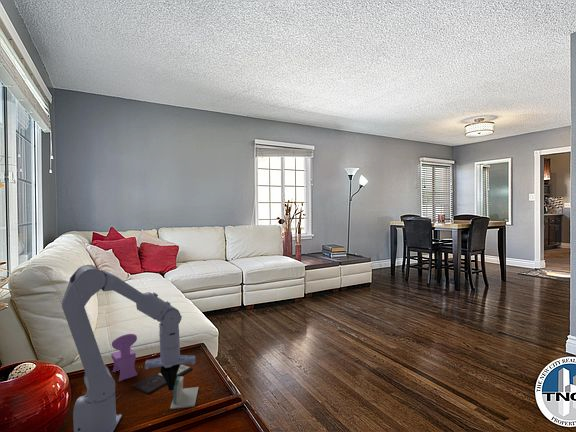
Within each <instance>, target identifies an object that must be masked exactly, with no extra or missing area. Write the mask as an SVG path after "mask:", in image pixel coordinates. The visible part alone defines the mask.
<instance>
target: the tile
mask: <svg viewBox="0 0 576 432" xmlns="http://www.w3.org/2000/svg"><path fill="white" fill-rule="evenodd" d="M183 389H184V376H183V375H182V376H178V377H177V379H176V380H175V385H174V390H173V397H172V398H173V399H172V401H173V403H179V402H180V399H181V396H182V392H183Z"/></svg>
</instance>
